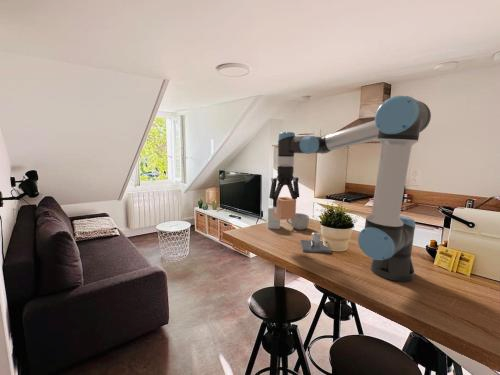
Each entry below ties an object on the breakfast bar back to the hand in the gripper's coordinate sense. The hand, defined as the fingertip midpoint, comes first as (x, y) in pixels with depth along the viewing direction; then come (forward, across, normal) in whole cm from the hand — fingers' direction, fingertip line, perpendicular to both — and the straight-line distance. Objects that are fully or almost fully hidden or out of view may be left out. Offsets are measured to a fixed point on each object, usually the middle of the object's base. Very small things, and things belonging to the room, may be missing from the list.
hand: (284, 212), depth 124 cm
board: (+17, -14, +8) cm, 23 cm away
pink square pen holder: (+2, 0, 0) cm, 2 cm away
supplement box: (+17, -10, -28) cm, 34 cm away
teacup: (+17, -22, -21) cm, 35 cm away
